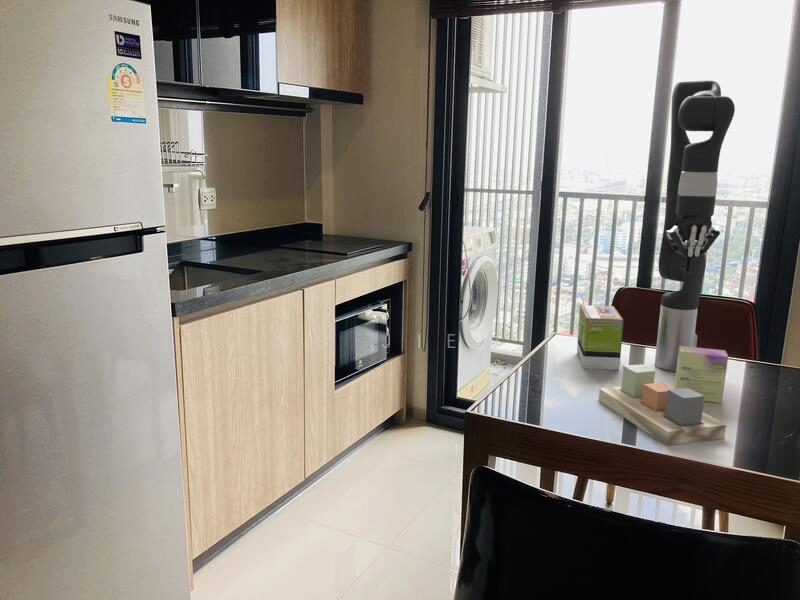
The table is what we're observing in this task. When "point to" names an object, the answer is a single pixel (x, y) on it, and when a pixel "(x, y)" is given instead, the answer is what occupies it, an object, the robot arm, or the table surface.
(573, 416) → the table surface
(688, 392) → the grey block
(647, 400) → the button terracotta
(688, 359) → the box
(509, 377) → the table surface
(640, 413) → the light wooden board
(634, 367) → the button sage
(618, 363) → the tea box
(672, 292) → the robot arm
